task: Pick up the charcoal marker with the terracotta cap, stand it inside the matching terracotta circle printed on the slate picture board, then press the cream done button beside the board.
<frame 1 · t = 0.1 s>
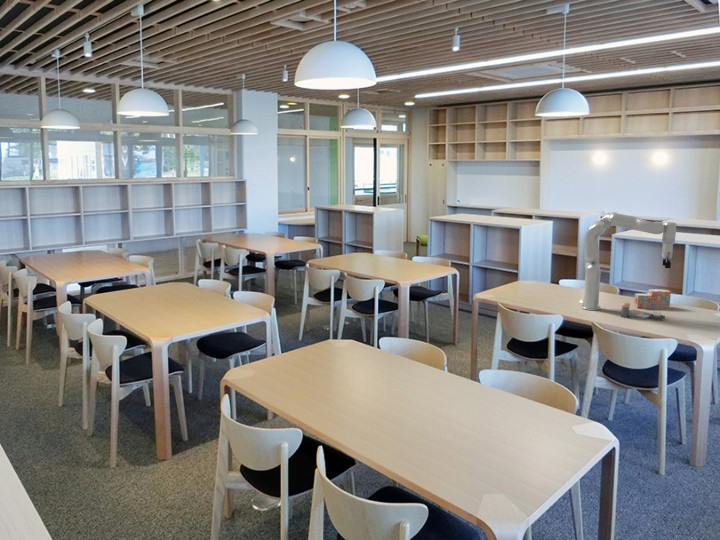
hand: (666, 266, 390), 31 cm above the table, tool pointing down, fingers open, 9 cm apart
button housing: (656, 319, 380), on the table
done button: (657, 314, 380), point 3 cm above the table, slide at 0.0 cm
stack of blocks: (651, 307, 410), on the table
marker: (624, 316, 387), on the table
picture board: (638, 314, 391), on the table
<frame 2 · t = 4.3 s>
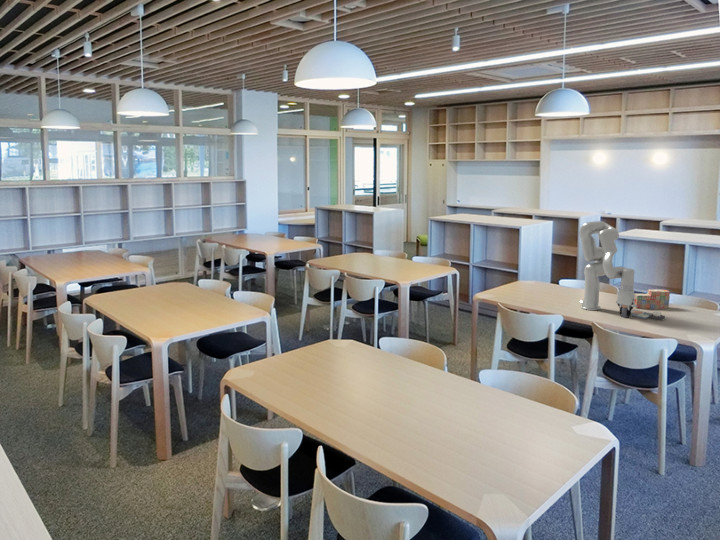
hand: (625, 314, 386), 2 cm above the table, tool pointing down, fingers closed on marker, 4 cm apart
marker: (624, 317, 387), on the table, touching gripper
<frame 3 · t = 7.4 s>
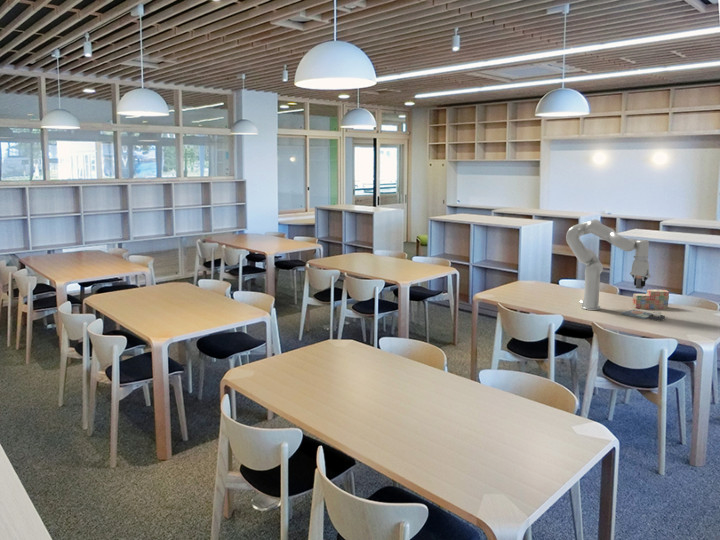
hand: (639, 285, 390), 19 cm above the table, tool pointing down, fingers closed on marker, 4 cm apart
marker: (639, 287, 391), point 18 cm above the table, touching gripper
when the fingers open (4 cm above the table, at t = 10.6 s): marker drops 1 cm, resting on picture board.
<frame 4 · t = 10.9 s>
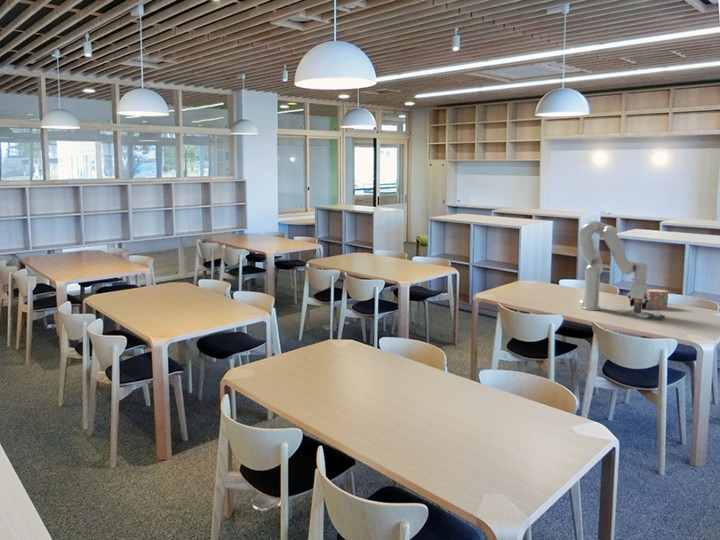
hand: (637, 307, 393), 4 cm above the table, tool pointing down, fingers open, 8 cm apart
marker: (637, 312, 394), point 1 cm above the table, touching picture board
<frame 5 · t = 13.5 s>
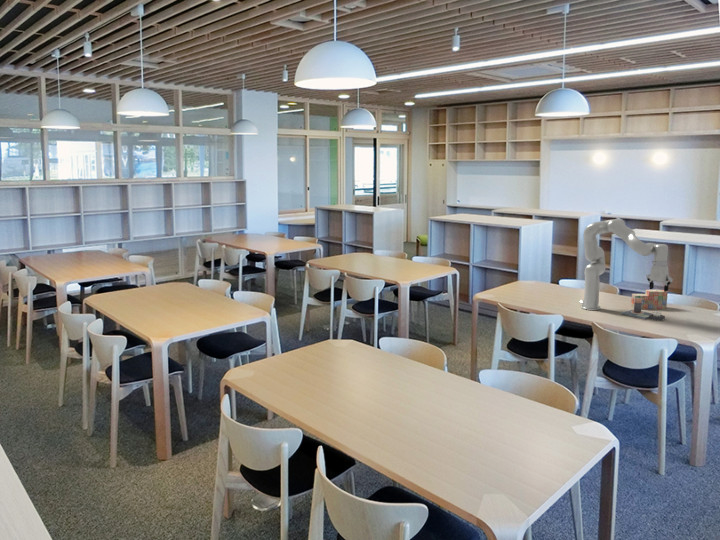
hand: (658, 290, 377), 19 cm above the table, tool pointing down, fingers open, 9 cm apart
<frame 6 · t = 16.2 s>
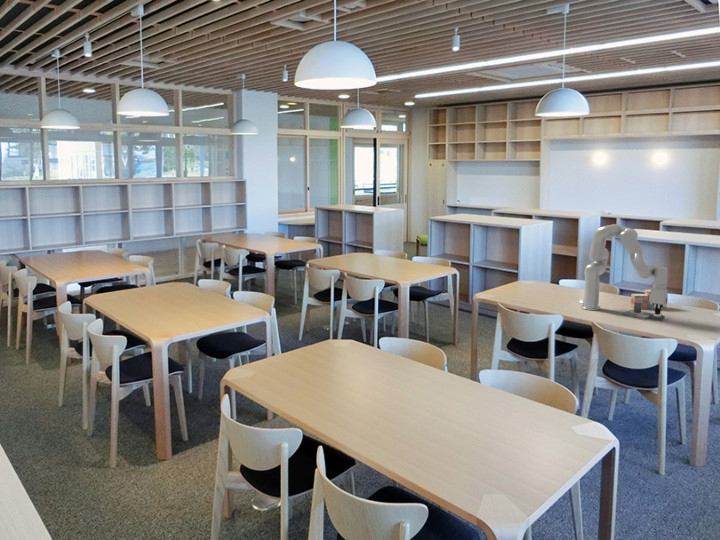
hand: (657, 313, 380), 3 cm above the table, tool pointing down, fingers closed
done button: (657, 315, 380), point 2 cm above the table, slide at 0.8 cm, touching gripper
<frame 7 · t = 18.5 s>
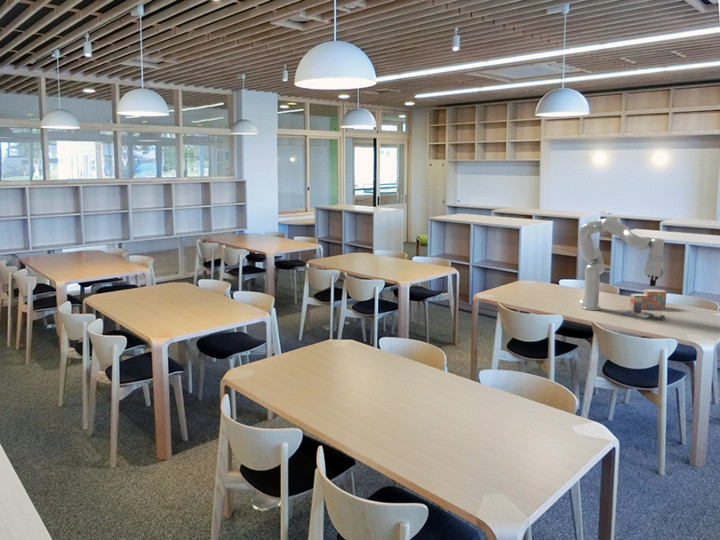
hand: (652, 285, 382), 21 cm above the table, tool pointing down, fingers closed
done button: (657, 316, 380), point 2 cm above the table, slide at 1.0 cm
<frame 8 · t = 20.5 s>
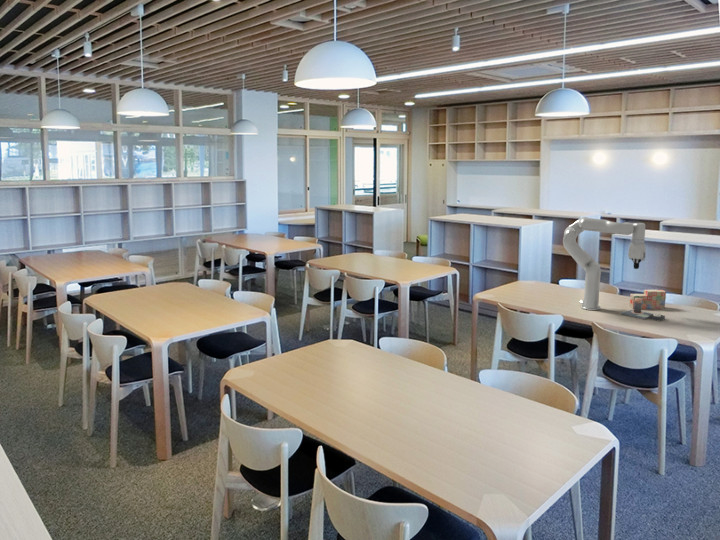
hand: (636, 268, 397), 29 cm above the table, tool pointing down, fingers closed
at the end: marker 0.1 cm from the target spot on the picture board, point 1.0 cm above the picture board's base; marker tilted 0°; done button slide at 1.0 cm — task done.
